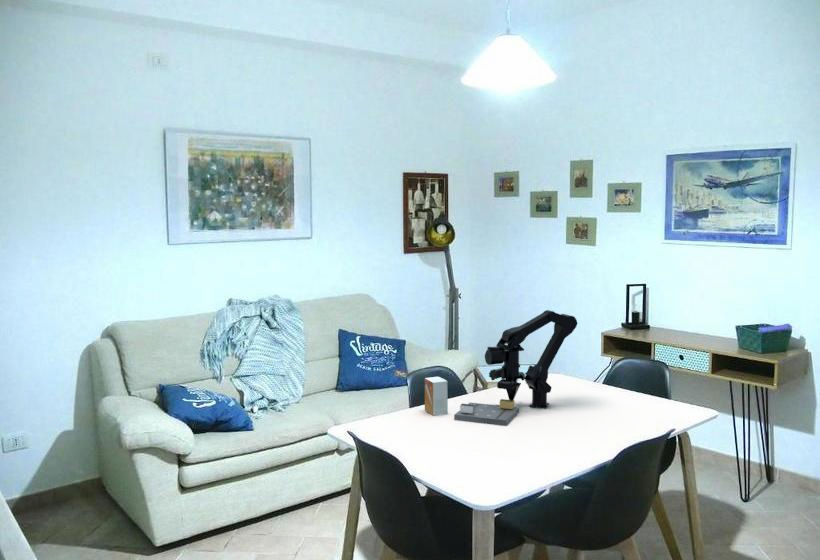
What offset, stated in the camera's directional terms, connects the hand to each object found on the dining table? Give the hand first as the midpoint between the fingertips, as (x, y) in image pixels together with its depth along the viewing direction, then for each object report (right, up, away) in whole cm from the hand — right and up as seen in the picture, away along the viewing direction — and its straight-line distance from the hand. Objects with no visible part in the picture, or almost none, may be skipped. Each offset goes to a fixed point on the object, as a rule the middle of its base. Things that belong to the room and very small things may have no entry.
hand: (511, 401), depth 282 cm
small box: (-29, -4, -2) cm, 30 cm away
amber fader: (-2, -1, -6) cm, 6 cm away
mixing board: (-10, -4, -8) cm, 14 cm away
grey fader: (-18, -2, -11) cm, 21 cm away
